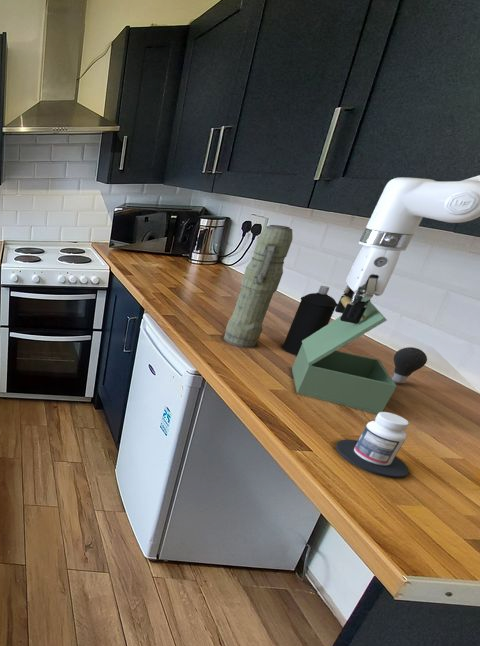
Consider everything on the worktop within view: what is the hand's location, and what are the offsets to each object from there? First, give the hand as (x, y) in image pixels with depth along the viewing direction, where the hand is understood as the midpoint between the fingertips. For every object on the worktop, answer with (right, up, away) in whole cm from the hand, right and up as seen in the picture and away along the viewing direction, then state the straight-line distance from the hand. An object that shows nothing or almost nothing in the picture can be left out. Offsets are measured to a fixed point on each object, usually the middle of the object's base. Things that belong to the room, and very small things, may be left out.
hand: (346, 316), depth 93 cm
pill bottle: (-12, -28, -18) cm, 35 cm away
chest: (+2, -18, +6) cm, 19 cm away
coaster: (-12, -28, -17) cm, 35 cm away
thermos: (-4, -6, +31) cm, 32 cm away
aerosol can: (+10, -9, +26) cm, 30 cm away
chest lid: (0, -4, +1) cm, 4 cm away
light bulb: (+23, -17, +10) cm, 30 cm away
